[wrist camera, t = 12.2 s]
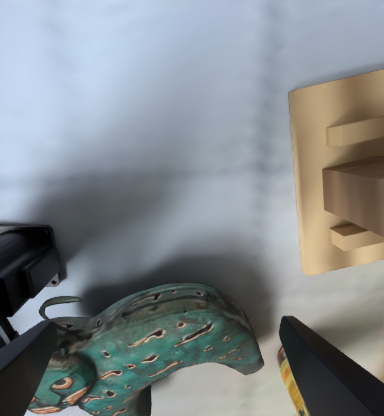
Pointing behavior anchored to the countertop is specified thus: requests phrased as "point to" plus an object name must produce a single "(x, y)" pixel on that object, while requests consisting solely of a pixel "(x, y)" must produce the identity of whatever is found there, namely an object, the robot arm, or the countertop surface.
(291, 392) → the sauce bottle
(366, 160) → the walnut board piece
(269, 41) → the countertop surface
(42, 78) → the countertop surface
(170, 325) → the teal curved piece
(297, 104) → the oak base board
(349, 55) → the countertop surface
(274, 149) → the countertop surface
